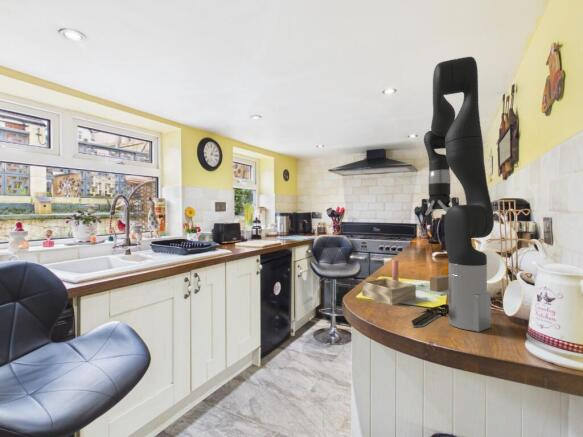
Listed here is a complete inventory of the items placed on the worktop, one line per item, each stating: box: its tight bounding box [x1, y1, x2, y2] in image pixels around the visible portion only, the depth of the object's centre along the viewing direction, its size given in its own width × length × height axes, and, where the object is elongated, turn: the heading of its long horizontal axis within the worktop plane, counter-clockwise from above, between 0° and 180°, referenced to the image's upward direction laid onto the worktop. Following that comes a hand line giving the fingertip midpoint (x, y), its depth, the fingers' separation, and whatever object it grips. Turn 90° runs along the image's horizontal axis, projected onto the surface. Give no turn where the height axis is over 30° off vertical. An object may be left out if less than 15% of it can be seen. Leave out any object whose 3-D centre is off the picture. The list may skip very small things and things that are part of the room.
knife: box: [411, 303, 449, 328], centre depth 94 cm, size 25×6×1 cm, turn 129°
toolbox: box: [361, 277, 417, 306], centre depth 111 cm, size 14×12×6 cm
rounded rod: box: [391, 259, 399, 281], centre depth 125 cm, size 2×2×12 cm
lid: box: [415, 274, 449, 296], centre depth 121 cm, size 14×12×6 cm
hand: (439, 225), depth 118 cm, fingers open, 8 cm apart
